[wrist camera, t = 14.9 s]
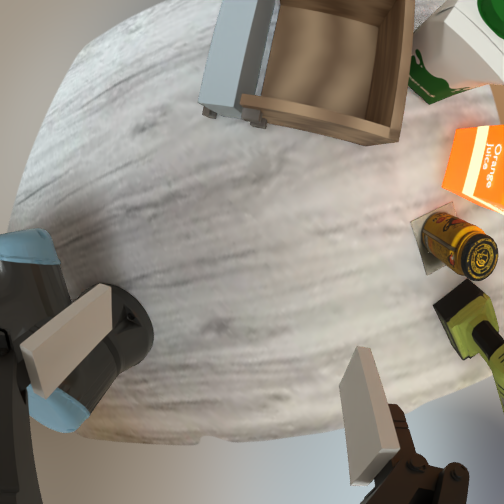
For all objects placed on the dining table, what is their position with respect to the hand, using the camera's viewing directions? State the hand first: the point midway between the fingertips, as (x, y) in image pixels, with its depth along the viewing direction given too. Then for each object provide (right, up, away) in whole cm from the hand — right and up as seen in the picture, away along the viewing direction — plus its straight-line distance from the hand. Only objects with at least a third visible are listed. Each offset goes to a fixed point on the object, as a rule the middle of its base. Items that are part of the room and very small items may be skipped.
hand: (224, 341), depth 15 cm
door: (+1, +30, +19) cm, 35 cm away
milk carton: (+24, +29, +16) cm, 41 cm away
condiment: (+28, +6, +23) cm, 36 cm away
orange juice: (+32, +16, +19) cm, 40 cm away
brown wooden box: (+7, +28, +19) cm, 34 cm away
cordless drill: (+37, -8, +26) cm, 46 cm away
